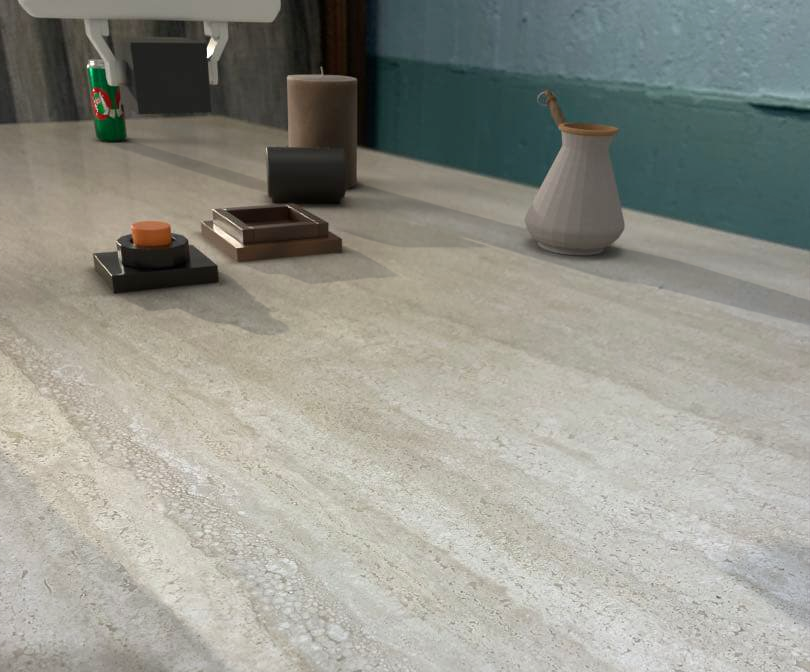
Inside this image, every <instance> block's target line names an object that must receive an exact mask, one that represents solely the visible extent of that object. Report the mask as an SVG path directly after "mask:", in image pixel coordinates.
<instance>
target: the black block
mask: <svg viewBox="0 0 810 672" xmlns="http://www.w3.org/2000/svg"><path fill="white" fill-rule="evenodd" d="M112 38H113V48H114V56H115V58H116V59H122V60H124V61H126V62H127V71H128V73H127V75H128V79H129V85H128V86H119V87H120V95H121V103H122V105H123V107H126V108H128V109H129V110H131V111H133V112H134V113H136V114H138V115H164V114H165V115H167V114H168V115H170V114H207V113H208V114H209V113H213V112H212V111H213V110H212V109H213V108H212V97H211V85H210V82H209V69H208V56H207V47H208V44H207V42H203V41H199V40H196V39H192V38H188V37H182V36H181V37H180V36H178V37H177V36H176V37H174V36H173V37H171V36H113V37H112Z"/></svg>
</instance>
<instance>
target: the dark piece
mask: <svg viewBox="0 0 810 672" xmlns="http://www.w3.org/2000/svg"><path fill="white" fill-rule="evenodd" d="M171 237H172V243H171V244H167V245H161V246H140V245H135V244H133V237H132V233H129V234H127V235H122V236H120V237H118V238H117V239H116V240H115V245H116V251H115V250H114V251H105V252H103V251H102V252H93V253H92V258H93V265H94V270H95V272H96V273H97V275H98V276H99V277H100V278H101V279H102V281H103V282H104V283H105V285H107V287H108V288H109V289H110V290H111V292H112V293H113V294H123V293H132V292H141V291H150V290H160V289H169V288H178V287H187V286H188V287H189V286H197V285H199V286H200V285H208V284H215V283H220V278H219V265H218V264H217V263H215V262H214V261H213V260H212V259H211V258H209V257H208V256H207V255H206V254H205V253H203V251H201V250H200V249H198V248H197V247H196V246H195V245H193V244H190V243H189V239H188V238H187V237H186V236H184V235H183V234H178V233H175V232H171Z"/></svg>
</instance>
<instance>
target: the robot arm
mask: <svg viewBox="0 0 810 672" xmlns="http://www.w3.org/2000/svg"><path fill="white" fill-rule="evenodd" d="M17 2H18V4H19V5H20V6H21V8H22V10H24V11H25V12H26V13H27V14H28V15H29V16H31V17H33V18H36V19H38V18H39V19H77V20H78V19H79V20H81V19H82V20H83V22H84V29H85V35H86V36H87V38H88V39H89V41H90V42H91V44H92V45H93V47H94V49H95V50H96V52H97V53H98V55H99V56H100V57H101V58H100V59H104V63H105V71H106V78H107V82H108V85H110V86H128V85H129V79H128V75H127V73H128V71H127V62H126V61H124V60H122V59H116V56H115V54H114V53H113V52H112V50H111V48H110V47H109V45H108V44H107V42H106V40H105V39H104V37H109V36H110V27H109V20H125V21H130V20H131V21H134V20H135V21H175V22H176V21H177V22H178V21H179V22H180V21H181V22H186V21H187V22H203V31H204V32H203V33H204V35H205V36H206V37H210V39H209V41H208V44H207V56H208V69H209V82H210V86H217V85H218V84H219V72H218V62H219V60H220V58H221V57H222V54H223V52H224V50H225V47H226V46H227V42H228V41H229V22H230V23H273V22H274V21H275V20H276V18H277V17H278V15H279V13H280V12H281V8H282V7H281V6H282V5H281V4H282V3H281V0H17Z"/></svg>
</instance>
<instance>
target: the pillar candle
mask: <svg viewBox="0 0 810 672" xmlns="http://www.w3.org/2000/svg"><path fill="white" fill-rule="evenodd" d="M320 71H321V74H291V75H289V74H288V75H287V76H286V88H287V89H286V90H287V120H288V121H287V123H288V125H287V126H288V127H287V128H288V131H287V132H288V147H306V148H317V147H318V146H319V147H320V148H327V147H329V148H343V149H344V152H345V158H346V191H347V190H350V189H352V188H354V187H357V184H358V179H357V178H358V177H357V176H358V171H357V170H358V169H357V167H358V79H357V78H356V77H352V76H347V75H339V74H338V75H337V74H336V75H335V74H324V68H323V66H320Z"/></svg>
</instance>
